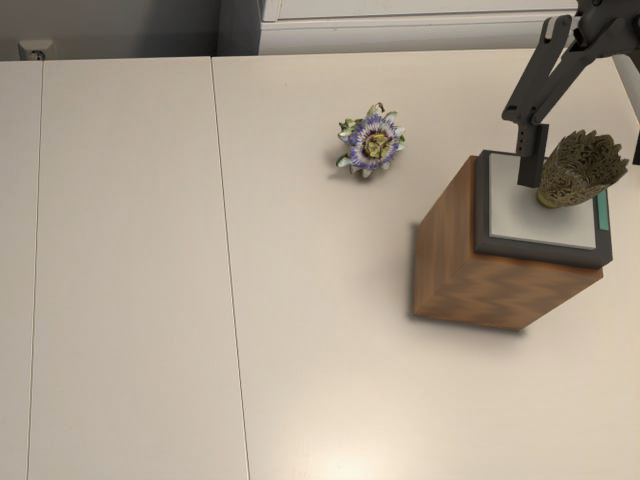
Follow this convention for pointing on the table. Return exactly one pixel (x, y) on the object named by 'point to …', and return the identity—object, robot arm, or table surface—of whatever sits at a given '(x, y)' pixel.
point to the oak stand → (482, 270)
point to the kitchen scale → (535, 219)
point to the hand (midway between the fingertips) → (586, 176)
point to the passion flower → (371, 141)
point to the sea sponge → (580, 169)
